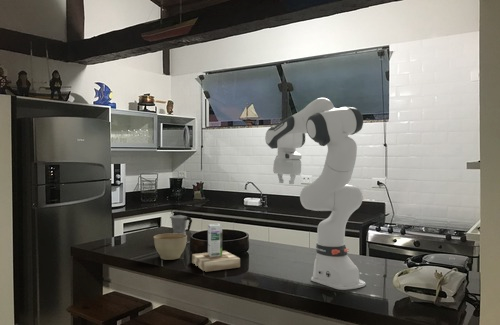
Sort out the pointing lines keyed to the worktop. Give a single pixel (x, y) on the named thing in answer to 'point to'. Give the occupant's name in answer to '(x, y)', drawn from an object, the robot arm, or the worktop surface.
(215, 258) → the birch plinth
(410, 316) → the worktop surface
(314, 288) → the worktop surface
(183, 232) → the coffeepot
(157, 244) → the planter bowl
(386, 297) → the worktop surface
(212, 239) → the syrup box
